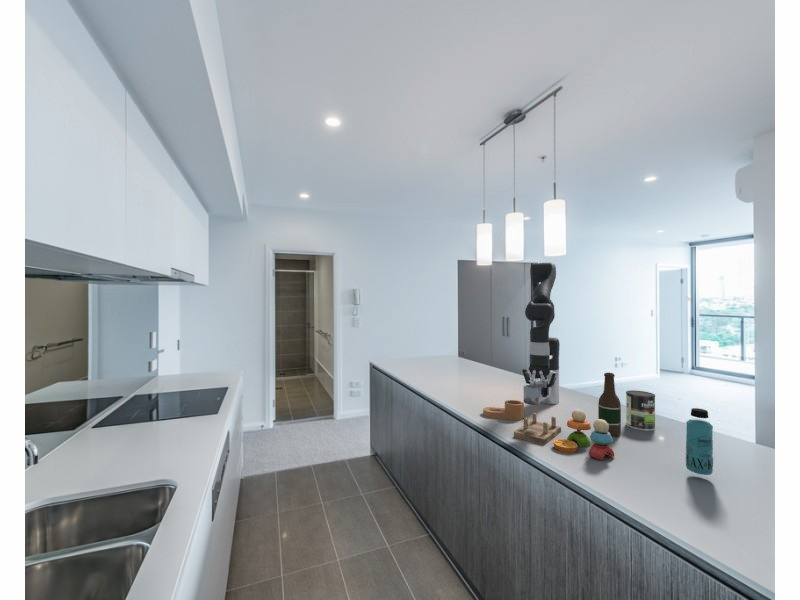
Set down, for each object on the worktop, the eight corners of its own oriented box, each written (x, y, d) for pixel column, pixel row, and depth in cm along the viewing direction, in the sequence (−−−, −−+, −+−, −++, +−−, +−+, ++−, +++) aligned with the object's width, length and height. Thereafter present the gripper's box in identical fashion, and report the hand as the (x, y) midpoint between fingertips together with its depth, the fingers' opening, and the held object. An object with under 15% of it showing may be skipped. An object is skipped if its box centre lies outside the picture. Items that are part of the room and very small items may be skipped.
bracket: (524, 415, 168) (524, 400, 168) (523, 421, 160) (523, 405, 160) (484, 412, 174) (484, 397, 174) (482, 417, 166) (482, 402, 166)
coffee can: (661, 430, 148) (661, 395, 149) (640, 432, 146) (640, 397, 146) (640, 421, 159) (640, 389, 159) (620, 423, 156) (620, 390, 157)
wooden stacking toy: (545, 446, 133) (545, 412, 133) (576, 437, 141) (576, 405, 141) (591, 466, 117) (591, 427, 117) (623, 455, 125) (623, 418, 125)
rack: (531, 425, 155) (531, 410, 155) (561, 431, 147) (561, 416, 147) (513, 436, 141) (513, 421, 141) (544, 444, 133) (544, 428, 133)
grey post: (538, 393, 153) (538, 379, 153) (553, 396, 149) (553, 381, 149) (521, 402, 140) (520, 387, 140) (536, 405, 136) (536, 389, 136)
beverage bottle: (680, 470, 113) (679, 406, 113) (699, 469, 114) (699, 405, 114) (699, 481, 106) (698, 412, 107) (719, 480, 107) (719, 412, 107)
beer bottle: (619, 431, 147) (619, 372, 147) (622, 438, 140) (621, 375, 140) (597, 428, 150) (597, 370, 150) (599, 434, 143) (599, 374, 143)
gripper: (561, 353, 144) (561, 397, 144) (525, 350, 153) (526, 391, 153) (554, 356, 138) (554, 401, 138) (518, 352, 148) (518, 394, 148)
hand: (539, 395), depth 146 cm, fingers closed on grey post, 4 cm apart
